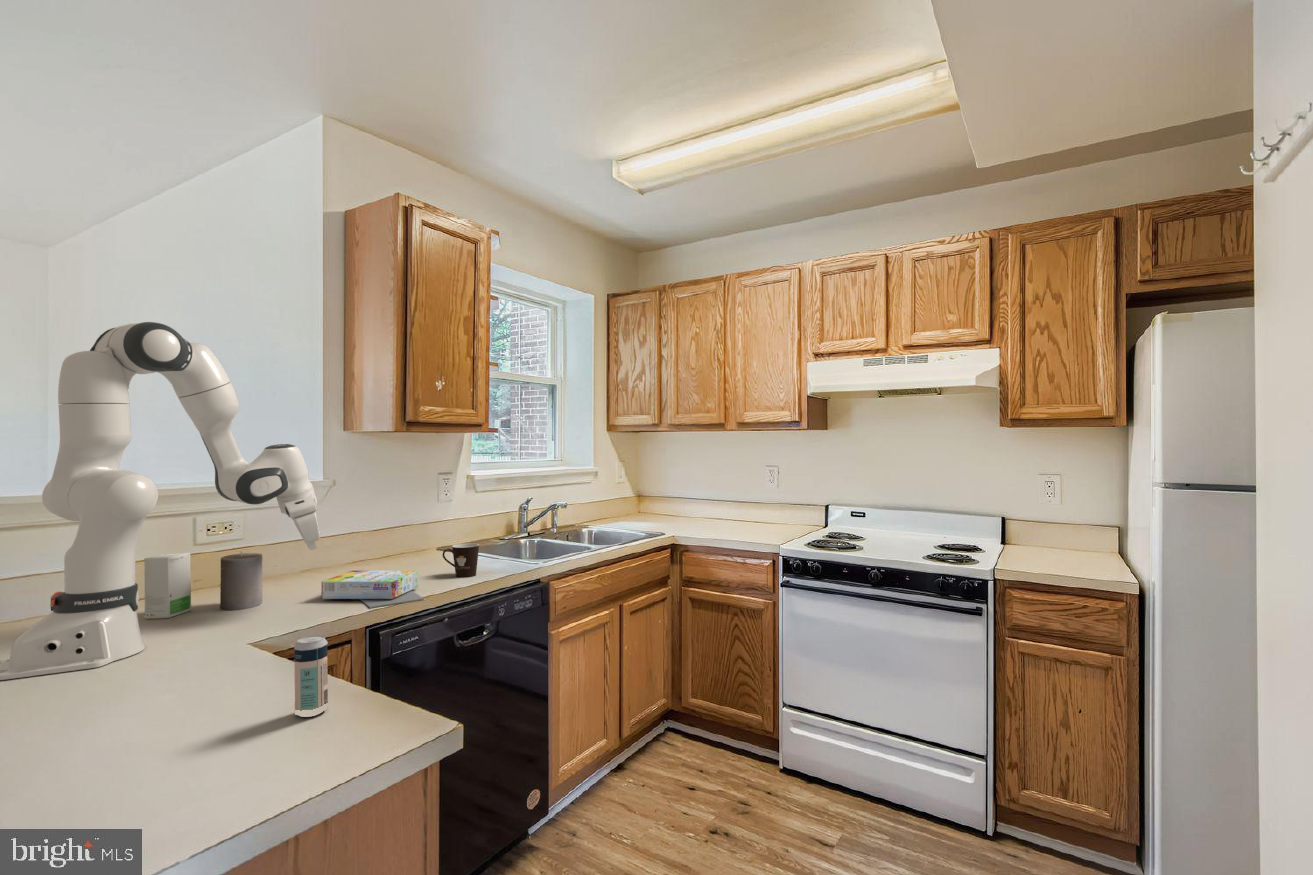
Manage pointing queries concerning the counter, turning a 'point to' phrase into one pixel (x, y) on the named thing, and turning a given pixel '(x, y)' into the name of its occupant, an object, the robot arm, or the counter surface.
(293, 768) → the counter surface
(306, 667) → the supplement bottle
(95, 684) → the counter surface
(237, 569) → the pillar candle
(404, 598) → the mat
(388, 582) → the snack box
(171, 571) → the skincare box
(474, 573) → the coffee mug
